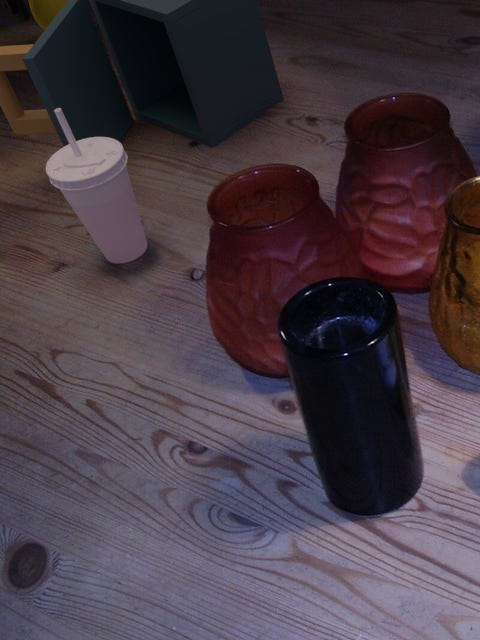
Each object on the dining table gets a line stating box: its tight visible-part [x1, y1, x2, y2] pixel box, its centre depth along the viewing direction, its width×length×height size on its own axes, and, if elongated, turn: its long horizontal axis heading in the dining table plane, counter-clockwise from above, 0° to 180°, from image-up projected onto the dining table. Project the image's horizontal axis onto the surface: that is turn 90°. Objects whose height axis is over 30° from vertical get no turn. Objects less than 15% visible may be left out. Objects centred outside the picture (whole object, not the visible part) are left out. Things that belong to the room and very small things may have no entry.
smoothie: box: [45, 108, 148, 264], centre depth 83 cm, size 6×6×14 cm
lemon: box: [28, 0, 68, 31], centre depth 115 cm, size 6×6×8 cm
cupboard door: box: [0, 0, 135, 147], centre depth 94 cm, size 6×12×14 cm, turn 175°
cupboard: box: [88, 0, 285, 149], centre depth 98 cm, size 10×12×14 cm
